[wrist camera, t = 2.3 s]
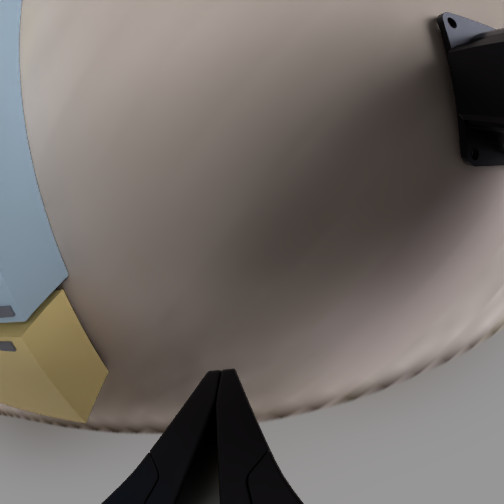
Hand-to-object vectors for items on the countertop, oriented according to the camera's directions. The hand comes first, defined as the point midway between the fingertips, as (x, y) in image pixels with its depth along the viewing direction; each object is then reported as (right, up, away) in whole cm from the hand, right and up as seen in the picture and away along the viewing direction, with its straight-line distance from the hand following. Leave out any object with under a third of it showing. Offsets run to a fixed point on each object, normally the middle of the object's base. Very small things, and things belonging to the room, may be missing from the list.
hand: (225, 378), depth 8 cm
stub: (-11, -1, +4) cm, 12 cm away
